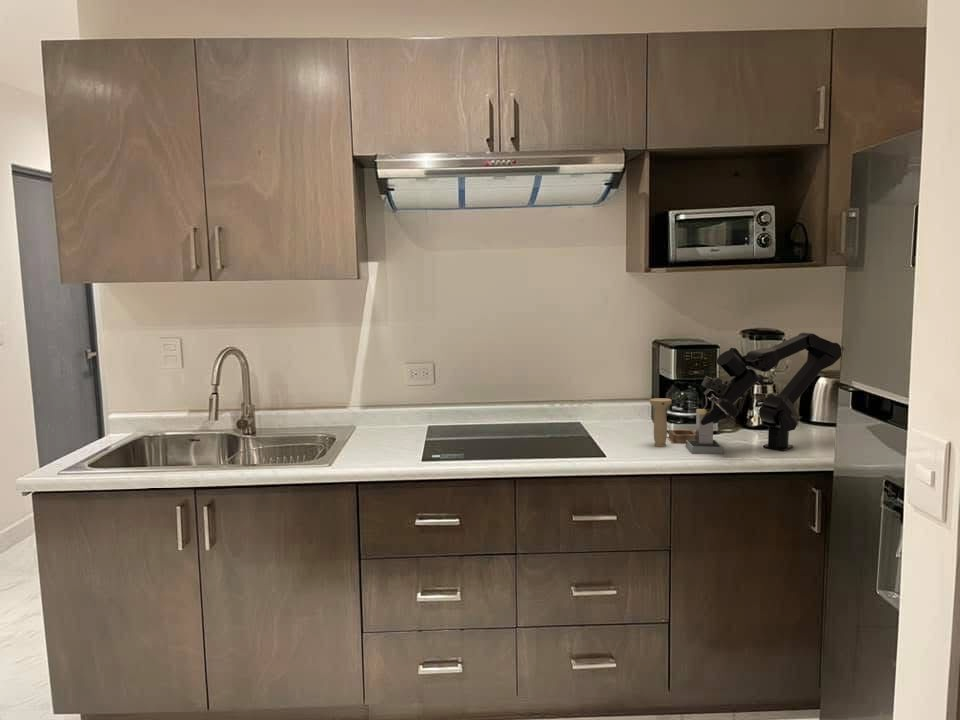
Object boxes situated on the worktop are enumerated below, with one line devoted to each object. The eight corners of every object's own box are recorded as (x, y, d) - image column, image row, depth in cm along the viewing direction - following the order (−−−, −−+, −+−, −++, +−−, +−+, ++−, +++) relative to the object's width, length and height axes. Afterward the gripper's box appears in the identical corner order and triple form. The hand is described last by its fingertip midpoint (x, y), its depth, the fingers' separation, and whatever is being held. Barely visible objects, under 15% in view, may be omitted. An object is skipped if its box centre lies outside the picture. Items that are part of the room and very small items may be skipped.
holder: (694, 438, 218) (694, 429, 218) (701, 445, 209) (701, 435, 209) (666, 438, 219) (666, 429, 219) (671, 445, 210) (671, 435, 210)
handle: (647, 445, 210) (648, 398, 208) (667, 445, 210) (668, 398, 209) (652, 449, 205) (652, 401, 204) (672, 448, 206) (673, 400, 204)
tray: (714, 447, 206) (715, 439, 206) (722, 455, 197) (722, 447, 197) (685, 447, 207) (685, 439, 206) (692, 455, 198) (692, 447, 198)
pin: (709, 441, 203) (709, 408, 202) (712, 444, 200) (713, 411, 198) (695, 441, 204) (696, 409, 203) (699, 444, 200) (699, 411, 199)
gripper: (711, 362, 208) (674, 398, 210) (728, 371, 189) (687, 410, 192) (736, 387, 208) (699, 422, 210) (756, 398, 189) (715, 437, 192)
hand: (699, 422), depth 201 cm, fingers closed on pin, 4 cm apart
